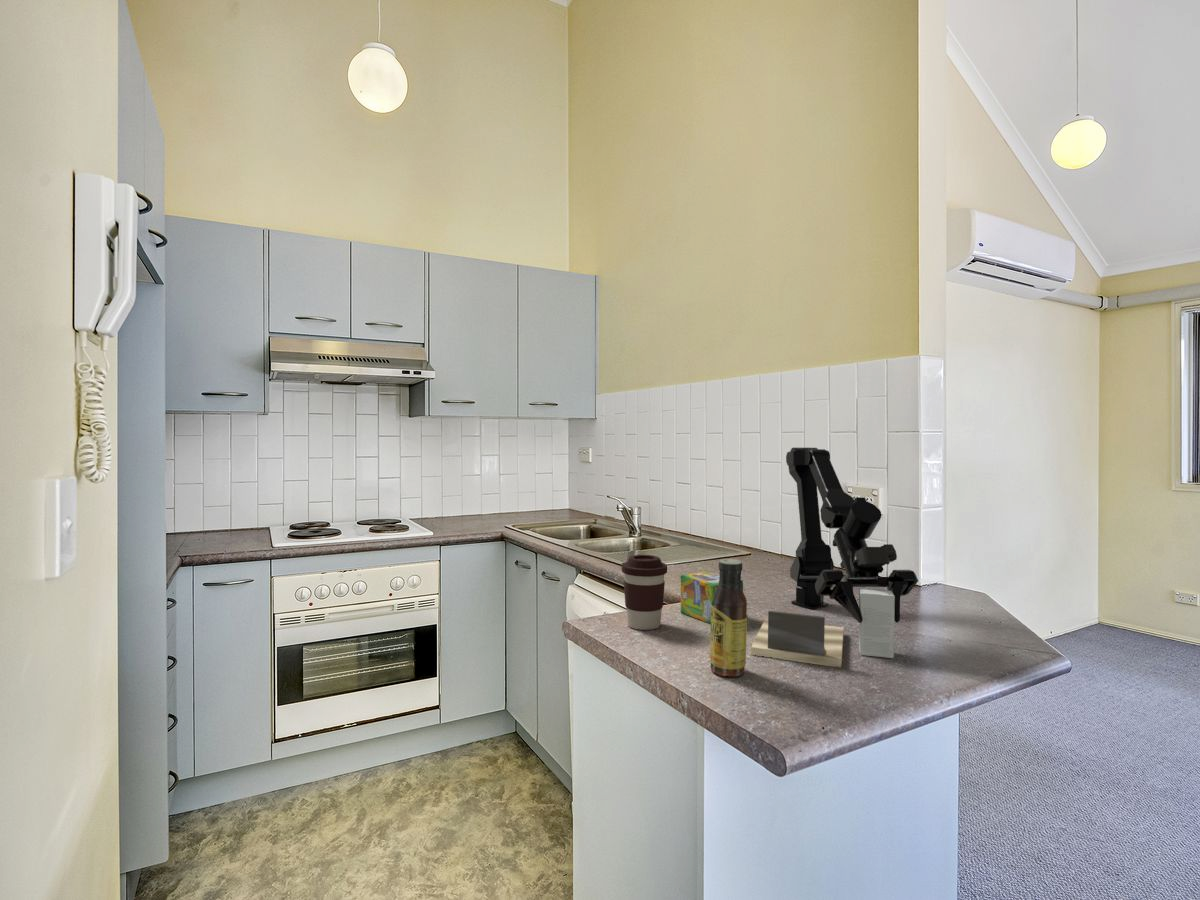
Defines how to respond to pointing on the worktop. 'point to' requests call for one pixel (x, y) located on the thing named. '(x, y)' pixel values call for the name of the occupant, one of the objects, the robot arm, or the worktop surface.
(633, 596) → the coffee cup
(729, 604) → the sauce bottle
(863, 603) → the skincare box
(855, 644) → the worktop surface
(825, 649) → the base with upright panel
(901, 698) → the worktop surface
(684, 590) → the chalk box
